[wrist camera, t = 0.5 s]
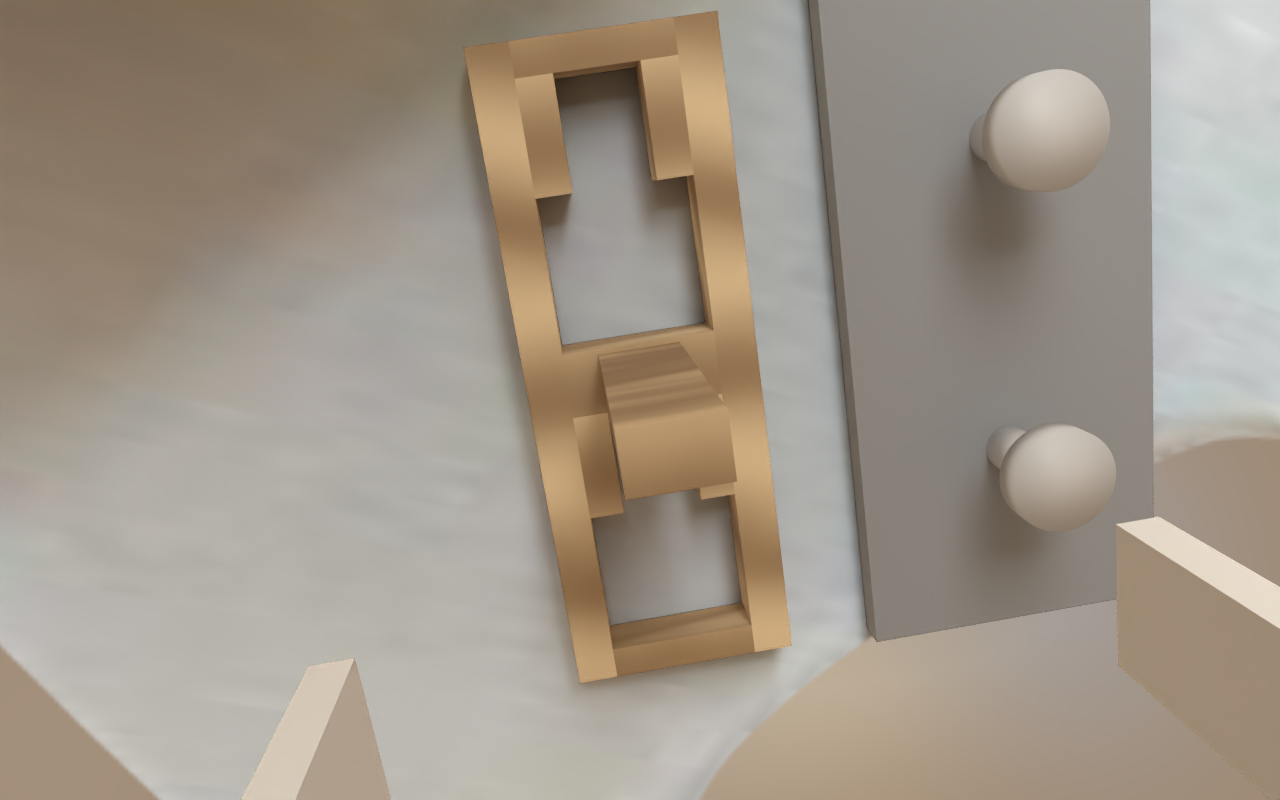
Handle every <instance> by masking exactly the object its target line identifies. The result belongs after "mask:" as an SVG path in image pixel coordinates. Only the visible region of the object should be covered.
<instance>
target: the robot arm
mask: <svg viewBox="0 0 1280 800" xmlns="http://www.w3.org/2000/svg"><path fill="white" fill-rule="evenodd" d="M1116 562H1117V625H1118V626H1117V627H1118V666H1120V668H1122V669H1123V670H1124V671H1125V672H1126V673H1127V674H1128V675H1129V676H1131V677H1132V678H1133V679H1134V680H1135V681H1136V682H1137V683H1139V684H1140V685H1141V686H1142V687H1143V688H1144V689H1145V690H1146V691H1147V692H1149V693H1150V694H1151V695H1152V696H1153V697H1154V698H1155V699H1156V700H1158V701H1159V702H1160V703H1161V704H1162V705H1163V706H1164V707H1166V708H1167V709H1168V710H1169V711H1170V712H1171V713H1172V714H1173V715H1174V716H1176V717H1177V718H1178V719H1179V720H1180V721H1181V722H1182V723H1183V724H1185V725H1186V726H1187V727H1188V728H1189V729H1190V730H1191V731H1193V732H1194V733H1195V734H1196V735H1197V736H1198V737H1199V738H1200V739H1202V740H1203V741H1204V742H1205V743H1206V744H1207V745H1208V746H1209V747H1210V748H1212V749H1213V750H1214V751H1215V752H1216V753H1217V754H1218V755H1220V756H1221V757H1222V758H1223V759H1224V760H1225V761H1226V762H1227V763H1229V764H1230V765H1231V766H1232V767H1233V768H1234V769H1235V770H1236V771H1238V772H1239V773H1240V774H1241V775H1242V776H1243V777H1244V778H1245V779H1246V780H1248V781H1249V782H1250V783H1251V784H1252V785H1253V786H1254V787H1256V788H1257V789H1258V790H1259V791H1260V792H1261V793H1262V794H1263V795H1265V796H1266V797H1267V798H1268V799H1269V800H1280V587H1279V586H1277V585H1275V584H1274V583H1272V582H1270V581H1268V580H1267V579H1265V578H1263V577H1262V576H1260V575H1258V574H1256V573H1255V572H1253V571H1251V570H1249V569H1248V568H1246V567H1244V566H1243V565H1241V564H1239V563H1237V562H1236V561H1234V560H1232V559H1230V558H1229V557H1227V556H1225V555H1224V554H1222V553H1220V552H1218V551H1217V550H1215V549H1213V548H1211V547H1210V546H1208V545H1206V544H1205V543H1203V542H1201V541H1199V540H1198V539H1196V538H1194V537H1192V536H1191V535H1189V534H1187V533H1186V532H1184V531H1182V530H1181V529H1179V528H1177V527H1175V526H1174V525H1172V524H1170V523H1168V522H1167V521H1165V520H1163V519H1162V518H1160V517H1155V518H1149V519H1143V520H1137V521H1132V522H1126V523H1120V524H1116ZM241 800H390V795H389V791H388V787H387V783H386V779H385V775H384V771H383V767H382V763H381V759H380V755H379V752H378V748H377V744H376V740H375V736H374V732H373V728H372V724H371V720H370V716H369V712H368V708H367V705H366V701H365V697H364V693H363V689H362V685H361V681H360V677H359V673H358V669H357V665H356V661H355V658H352V659H347V660H341V661H335V662H330V663H324V664H318V665H313V666H308V668H307V670H306V672H305V674H304V676H303V678H302V680H301V682H300V684H299V686H298V688H297V690H296V692H295V694H294V696H293V698H292V700H291V702H290V704H289V705H288V707H287V709H286V711H285V713H284V715H283V717H282V719H281V721H280V723H279V725H278V727H277V729H276V731H275V733H274V735H273V737H272V739H271V741H270V743H269V745H268V747H267V749H266V751H265V753H264V755H263V757H262V759H261V761H260V763H259V765H258V767H257V769H256V771H255V773H254V775H253V777H252V779H251V781H250V783H249V785H248V787H247V789H246V790H245V792H244V794H243V796H242V798H241Z"/></svg>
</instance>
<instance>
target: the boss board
mask: <svg viewBox="0 0 1280 800" xmlns="http://www.w3.org/2000/svg"><path fill="white" fill-rule="evenodd" d="M808 1H809V12H810V23H811V33H812V44H813V55H814V65H815V76H816V87H817V97H818V108H819V118H820V129H821V140H822V150H823V161H824V172H825V182H826V193H827V204H828V214H829V225H830V236H831V246H832V257H833V268H834V278H835V289H836V300H837V310H838V321H839V332H840V342H841V353H842V364H843V374H844V385H845V396H846V406H847V417H848V428H849V438H850V449H851V460H852V470H853V481H854V492H855V502H856V513H857V524H858V534H859V545H860V555H861V566H862V577H863V587H864V598H865V609H866V619H867V628H868V630H869V631H870V633H871V634H872V636H873V637H874V639H875V640H876V642H879V641H885V640H891V639H896V638H902V637H907V636H913V635H918V634H924V633H930V632H935V631H941V630H947V629H952V628H957V627H963V626H969V625H975V624H980V623H986V622H991V621H997V620H1003V619H1008V618H1013V617H1019V616H1025V615H1030V614H1036V613H1042V612H1047V611H1053V610H1059V609H1064V608H1070V607H1075V606H1081V605H1087V604H1092V603H1098V602H1103V601H1108V600H1115V599H1117V562H1116V524H1120V523H1126V522H1132V521H1137V520H1143V519H1149V518H1154V498H1153V497H1154V490H1153V488H1154V487H1153V344H1152V201H1151V59H1150V0H808Z"/></svg>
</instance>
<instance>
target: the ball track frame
mask: <svg viewBox="0 0 1280 800" xmlns="http://www.w3.org/2000/svg"><path fill="white" fill-rule="evenodd" d="M464 53H465V59H466V64H467V70H468V75H469V81H470V86H471V91H472V97H473V102H474V108H475V113H476V119H477V124H478V130H479V135H480V140H481V146H482V151H483V157H484V162H485V168H486V173H487V179H488V184H489V189H490V195H491V200H492V206H493V211H494V217H495V222H496V228H497V233H498V238H499V244H500V249H501V255H502V260H503V266H504V271H505V277H506V282H507V287H508V293H509V298H510V304H511V309H512V315H513V320H514V326H515V331H516V336H517V342H518V347H519V353H520V358H521V364H522V369H523V375H524V380H525V385H526V391H527V396H528V402H529V407H530V413H531V418H532V424H533V429H534V434H535V440H536V445H537V451H538V456H539V462H540V467H541V473H542V478H543V483H544V489H545V494H546V500H547V505H548V511H549V516H550V522H551V527H552V532H553V538H554V543H555V549H556V554H557V560H558V565H559V571H560V576H561V581H562V587H563V592H564V598H565V603H566V609H567V614H568V620H569V625H570V630H571V636H572V641H573V647H574V652H575V658H576V663H577V669H578V674H579V679H580V683H584V682H590V681H595V680H601V679H607V678H612V677H618V676H624V675H629V674H635V673H640V672H646V671H652V670H657V669H663V668H668V667H674V666H680V665H685V664H691V663H697V662H702V661H708V660H713V659H719V658H725V657H730V656H736V655H742V654H747V653H753V652H758V651H764V650H770V649H775V648H781V647H787V646H792V644H791V635H790V627H789V618H788V610H787V601H786V593H785V584H784V576H783V567H782V559H781V550H780V542H779V533H778V525H777V516H776V508H775V499H774V490H773V482H772V473H771V465H770V456H769V448H768V439H767V431H766V422H765V414H764V405H763V397H762V388H761V380H760V371H759V363H758V354H757V346H756V337H755V329H754V320H753V311H752V303H751V294H750V286H749V277H748V269H747V260H746V252H745V243H744V235H743V226H742V218H741V209H740V201H739V192H738V184H737V175H736V167H735V158H734V149H733V141H732V132H731V124H730V115H729V107H728V98H727V90H726V81H725V73H724V64H723V56H722V47H721V39H720V30H719V22H718V13H717V11H713V12H706V13H699V14H692V15H685V16H678V17H671V18H664V19H657V20H651V21H644V22H637V23H630V24H623V25H616V26H609V27H602V28H595V29H588V30H582V31H575V32H568V33H561V34H554V35H547V36H540V37H533V38H526V39H519V40H512V41H506V42H499V43H492V44H485V45H478V46H471V47H464ZM633 67H636V72H637V79H638V86H639V93H640V100H641V107H642V115H643V122H644V129H645V136H646V143H647V150H648V157H649V165H650V172H651V179H652V180H663V179H669V178H676V177H682V176H686V178H687V185H688V193H689V201H690V208H691V216H692V224H693V231H694V239H695V246H696V254H697V262H698V269H699V277H700V285H701V292H702V300H703V308H704V315H705V323H698V324H692V325H686V326H680V327H673V328H667V329H661V330H655V331H649V332H642V333H636V334H630V335H624V336H617V337H611V338H605V339H599V340H592V341H586V342H580V343H574V344H568V345H562V342H561V336H560V330H559V324H558V318H557V313H556V307H555V301H554V295H553V289H552V283H551V278H550V272H549V266H548V260H547V254H546V248H545V243H544V237H543V231H542V225H541V219H540V213H539V208H538V202H537V199H538V198H545V197H552V196H558V195H565V194H571V193H572V188H571V182H570V176H569V170H568V164H567V157H566V151H565V145H564V139H563V133H562V126H561V120H560V114H559V108H558V102H557V96H556V89H555V83H554V79H558V78H565V77H572V76H579V75H585V74H592V73H599V72H606V71H613V70H619V69H626V68H633ZM608 415H609V417H608ZM609 420H610V423H609ZM610 425H611V429H610ZM611 430H612V435H613V440H614V445H615V450H616V455H617V460H618V465H619V470H620V475H621V480H622V486H623V491H624V496H625V500H631V499H637V498H643V497H649V496H655V495H661V494H667V493H673V492H679V491H685V490H690V489H696V488H697V491H698V493H699V495H700V498H701V500H703V499H709V498H715V497H721V496H726V495H728V499H729V507H730V514H731V522H732V530H733V537H734V545H735V553H736V560H737V568H738V576H739V583H740V591H741V598H742V603H737V604H731V605H725V606H720V607H714V608H708V609H702V610H697V611H691V612H685V613H680V614H674V615H668V616H663V617H657V618H651V619H645V620H640V621H634V622H628V623H623V624H617V625H611V626H610V622H609V616H608V610H607V604H606V598H605V593H604V587H603V581H602V575H601V569H600V563H599V558H598V552H597V546H596V540H595V534H594V528H593V523H592V518H597V517H603V516H609V515H614V514H620V513H624V510H623V504H622V497H621V491H620V485H619V479H618V473H617V466H616V460H615V454H614V448H613V442H612V436H611Z"/></svg>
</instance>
